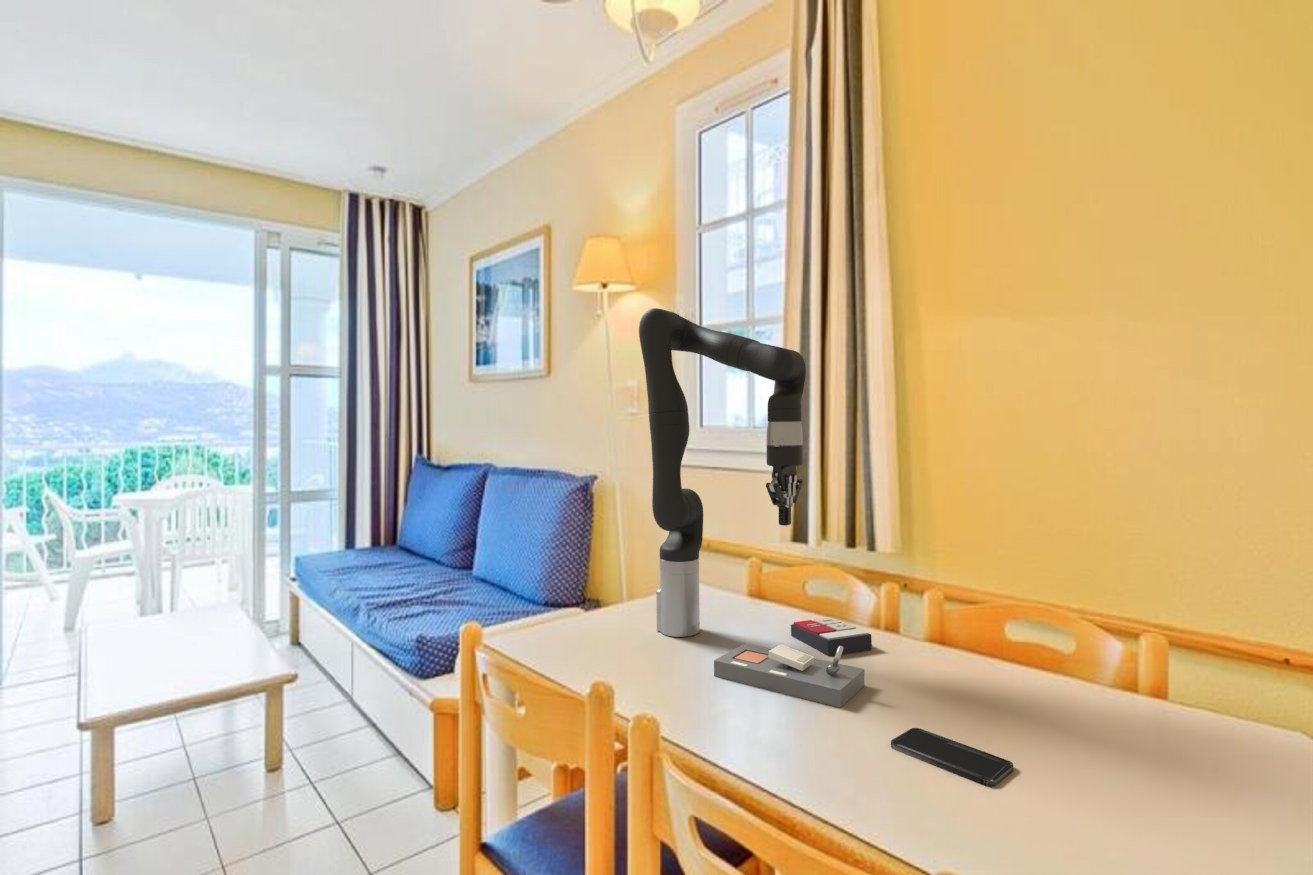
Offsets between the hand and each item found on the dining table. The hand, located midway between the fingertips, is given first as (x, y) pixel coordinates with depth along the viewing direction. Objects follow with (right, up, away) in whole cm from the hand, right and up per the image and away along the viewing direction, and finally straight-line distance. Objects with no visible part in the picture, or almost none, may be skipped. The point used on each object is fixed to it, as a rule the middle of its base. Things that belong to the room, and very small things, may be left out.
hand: (784, 524), depth 140 cm
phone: (+15, -28, -45) cm, 55 cm away
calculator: (+11, -27, +6) cm, 30 cm away
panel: (-2, -27, -16) cm, 32 cm away
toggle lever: (+4, -24, -21) cm, 32 cm away
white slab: (-2, -24, -16) cm, 29 cm away
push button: (-9, -27, -11) cm, 31 cm away
